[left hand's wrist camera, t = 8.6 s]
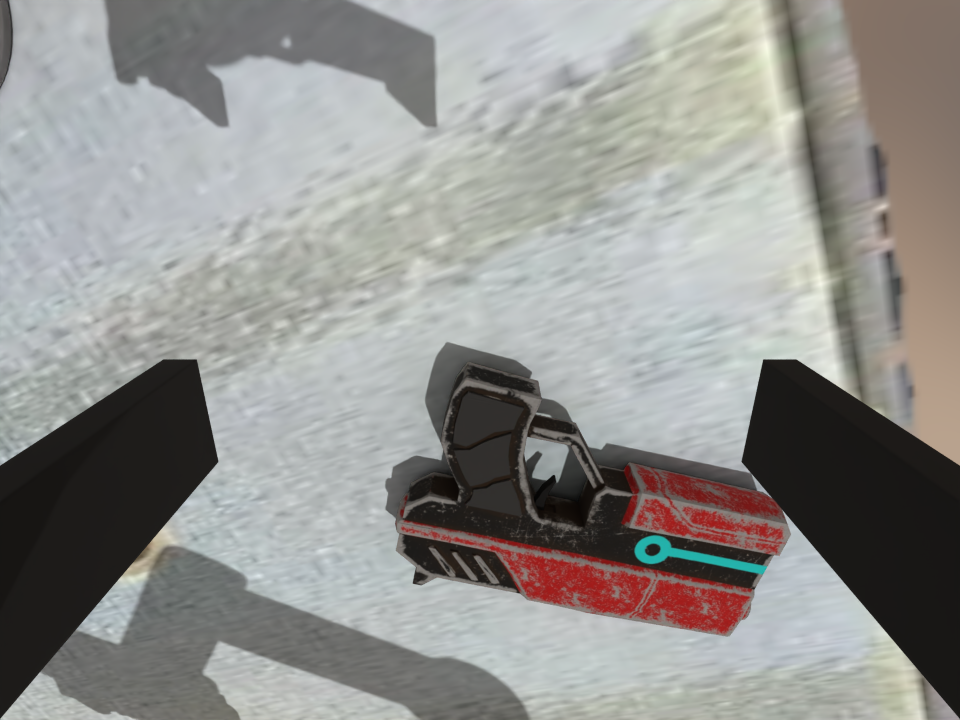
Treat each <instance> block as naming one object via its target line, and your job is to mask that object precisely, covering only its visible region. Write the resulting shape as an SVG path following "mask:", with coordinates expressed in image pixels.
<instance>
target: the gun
mask: <svg viewBox="0 0 960 720" xmlns="http://www.w3.org/2000/svg"><path fill="white" fill-rule="evenodd" d="M541 401H542V399H541V393H540V388H539V383H538V381H537V380H533V379H529V378H525V377H522V376H518V375H514V374H510V373H507V372H503V371H499V370H496V369H492V368H488V367H485V366H481V365H478V364H474V363H471V362H467V364H466V365H465V366H464V368H463V369H462V370H461V371H460V373H459V374H458V375H457V377H456V380H455V382H454V385H453V389H452V392H451V395H450V399H449V402H448V406H447V410H446V414H445V419H444V424H443V430H442V435H441V444H442V447H443V450H444V453H445V456H446V459H447V462H448V464H449V467H450V469H451V471H452V474H453V476H451V475H446V474H441V473H436V472H433V473H431V474H428V475H426V476H424V477H422V478H420V479H418V480H416V481H413V482H411V485H410V489H409V493H406V494H405V495H404V496H403V498H402V499H401V502H400V505H399V509H398V513H397V517H396V522H395V525H396V530H397V532H398V533H400V534H399V538H398V543H397V548H396V551H397V552H398V553H399V554H401V555H402V556H403V557H404V558H406V559H407V560H408V561H409V562H410V563H412V564H413V565H414V566H415V567H416V570H415V574H414V579H413V584H417V585H423V584H425V583H427V582H429V581H431V580H433V579H435V578H437V577H438V578H443V579H448V580H453V581H458V582H463V583H468V584H474V585H479V586H484V587H489V588H494V589H499V590H505V591H510V592H515V593H520V594H522V595H523V596H524V597H525V598H526V599H527V600H531V601H536V602H541V603H546V604H551V605H556V606H560V607H565V608H569V609H574V610H578V611H582V612H586V613H592V614H598V615H604V616H609V617H615V618H621V619H627V620H633V621H639V622H645V623H651V624H657V625H662V626H668V627H674V628H680V629H686V630H692V631H698V632H704V633H710V634H715V635H721V636H730V635H731V633H732V632H733V631H734V629H735V628H736V627H737V625H738V624H739V622H740V621H741V620H745V619H746V618H747V617H748V615H749V613H750V609H751V601H752V600H753V598H754V589H755V587H756V586H757V584H758V582H759V580H760V579H761V577H762V575H763V573H764V572H765V570H766V568H767V566H768V565H769V563H770V561H771V559H772V558H773V556H774V555H777V556H780V554H781V552H782V550H783V548H784V546H785V544H786V543H787V541H788V539H789V537H790V535H791V533H790V530H789V527H788V524H787V522H786V519H785V516H784V514H783V511H782V509H781V508H780V506H779V505H778V504H777V503H776V502H775V501H774V499H772V498H771V497H769V496H768V495H766V494H765V493H763V492H760V491H755V490H751V489H746V488H742V487H737V486H733V485H728V484H724V483H719V482H715V481H710V480H706V479H701V478H697V477H692V476H688V475H683V474H679V473H674V472H670V471H665V470H661V469H656V468H652V467H647V466H643V465H639V464H635V463H630V462H629V463H628V464H627V466H626V467H625V468H624V470H620V469H615V468H610V467H606V466H601V465H597V463H596V461H595V459H594V457H593V455H592V453H591V451H590V449H589V447H588V446H587V444H586V442H585V440H584V438H583V436H582V434H581V432H580V430H579V428H578V427H577V425H576V423H574V422H569V421H564V420H559V419H555V418H550V417H545V416H541V415H536V412H537V410H538V408H539V405H540V403H541ZM527 437H532V438H536V439H541V440H546V441H551V442H556V443H561V444H566V445H571V447H572V449H573V451H574V453H575V455H576V456H577V458H578V460H579V462H580V464H581V466H582V468H583V469H584V471H585V473H586V475H587V479H586V482H585V484H584V487H583V490H582V493H581V495H580V498H579V501H578V502H577V501H572V500H567V499H562V498H557V497H553V496H548V493H549V491H550V490H551V488H552V487H553V486H554V484H555V483H556V478H555V475H553V476H552V477H550V478H549V479H548V480H547V481H546V482H545V483H544V484H542V486H541V487H540V489H539V490H538V491H537V493H536V492H535V490H534V488H533V486H532V485H531V483H530V481H529V476H528V471H527V467H526V462H525V457H524V450H525V444H526V439H527Z"/></svg>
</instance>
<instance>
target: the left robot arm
mask: <svg viewBox="0 0 960 720" xmlns="http://www.w3.org/2000/svg"><path fill="white" fill-rule="evenodd" d="M10 51H11V21H10V14H9V8H8V2H7V0H0V86H1V84H2V82H3V80H4V77H5V74H6V72H7V68H8V63H9V59H10ZM217 463H218V457H217V453H216V448H215V443H214V439H213V434H212V429H211V425H210V420H209V415H208V410H207V406H206V401H205V396H204V392H203V387H202V382H201V377H200V373H199V368H198V363H197V360H162V361H161V362H159V363H158V364H156V365H154V366H153V367H151V368H150V369H148V370H147V371H145V372H144V373H142V374H141V375H139V376H138V377H136V378H134V379H133V380H131V381H130V382H128V383H127V384H125V385H124V386H122V387H121V388H119V389H117V390H116V391H114V392H113V393H111V394H110V395H108V396H107V397H105V398H104V399H102V400H101V401H99V402H97V403H96V404H94V405H93V406H91V407H90V408H88V409H87V410H85V411H84V412H82V413H81V414H79V415H77V416H76V417H74V418H73V419H71V420H70V421H68V422H67V423H65V424H64V425H62V426H61V427H59V428H57V429H56V430H54V431H53V432H51V433H50V434H48V435H47V436H45V437H44V438H42V439H41V440H39V441H37V442H36V443H34V444H33V445H31V446H30V447H28V448H27V449H25V450H24V451H22V452H21V453H19V454H17V455H16V456H14V457H13V458H11V459H10V460H8V461H7V462H5V463H4V464H2V465H1V466H0V718H1V717H2V716H3V715H4V714H5V712H6V711H7V710H8V709H9V708H10V707H11V705H12V704H13V703H14V702H15V701H16V700H17V698H18V697H19V696H20V695H21V694H22V692H23V691H24V690H25V689H26V688H27V687H28V685H29V684H30V683H31V682H32V681H33V680H34V678H35V677H36V676H37V675H38V674H39V672H40V671H41V670H42V669H43V668H44V667H45V665H46V664H47V663H48V662H49V661H50V659H51V658H52V657H53V656H54V655H55V654H56V652H57V651H58V650H59V649H60V648H61V647H62V645H63V644H64V643H65V642H66V641H67V639H68V638H69V637H70V636H71V635H72V634H73V632H74V631H75V630H76V629H77V628H78V627H79V625H80V624H81V623H82V622H83V621H84V619H85V618H86V617H87V616H88V615H89V614H90V612H91V611H92V610H93V609H94V608H95V607H96V605H97V604H98V603H99V602H100V601H101V599H102V598H103V597H104V596H105V595H106V594H107V592H108V591H109V590H110V589H111V588H112V587H113V585H114V584H115V583H116V582H117V581H118V579H119V578H120V577H121V576H122V575H123V574H124V572H125V571H126V570H127V569H128V568H129V567H130V565H131V564H132V563H133V562H134V561H135V559H136V558H137V557H138V556H139V555H140V554H141V552H142V551H143V550H144V549H145V548H146V546H147V545H148V544H149V543H150V542H151V541H152V539H153V538H154V537H155V536H156V535H157V534H158V532H159V531H160V530H161V529H162V528H163V526H164V525H165V524H166V523H167V522H168V521H169V519H170V518H171V517H172V516H173V515H174V514H175V512H176V511H177V510H178V509H179V508H180V506H181V505H182V504H183V503H184V502H185V501H186V499H187V498H188V497H189V496H190V495H191V494H192V492H193V491H194V490H195V489H196V488H197V486H198V485H199V484H200V483H201V482H202V481H203V479H204V478H205V477H206V476H207V475H208V474H209V472H210V471H211V470H212V469H213V468H214V466H215V465H216V464H217ZM742 463H743V464H744V465H745V466H746V468H747V469H748V470H749V471H750V472H751V474H752V475H753V476H754V477H755V478H756V479H757V481H758V482H759V483H760V484H761V485H762V486H763V488H764V489H765V490H766V491H767V492H768V494H769V495H770V496H771V497H772V498H773V499H774V501H775V502H776V503H777V504H778V505H779V506H780V508H781V509H782V510H783V511H784V512H785V514H786V515H787V516H788V517H789V518H790V519H791V521H792V522H793V523H794V524H795V525H796V526H797V528H798V529H799V530H800V531H801V532H802V534H803V535H804V536H805V537H806V538H807V539H808V541H809V542H810V543H811V544H812V545H813V547H814V548H815V549H816V550H817V551H818V552H819V554H820V555H821V556H822V557H823V558H824V559H825V561H826V562H827V563H828V564H829V565H830V567H831V568H832V569H833V570H834V571H835V572H836V574H837V575H838V576H839V577H840V578H841V579H842V581H843V582H844V583H845V584H846V585H847V587H848V588H849V589H850V590H851V591H852V592H853V594H854V595H855V596H856V597H857V598H858V599H859V601H860V602H861V603H862V604H863V605H864V607H865V608H866V609H867V610H868V611H869V612H870V614H871V615H872V616H873V617H874V618H875V619H876V621H877V622H878V623H879V624H880V625H881V627H882V628H883V629H884V630H885V631H886V632H887V634H888V635H889V636H890V637H891V638H892V639H893V641H894V642H895V643H896V644H897V645H898V647H899V648H900V649H901V650H902V651H903V652H904V654H905V655H906V656H907V657H908V658H909V659H910V661H911V662H912V663H913V664H914V665H915V667H916V668H917V669H918V670H919V671H920V672H921V674H922V675H923V676H924V677H925V678H926V680H927V681H928V682H929V683H930V684H931V685H932V687H933V688H934V689H935V690H936V691H937V692H938V694H939V695H940V696H941V697H942V698H943V700H944V701H945V702H946V703H947V704H948V705H949V707H950V708H951V709H952V710H953V711H954V712H955V714H956V715H957V716H958V717H959V718H960V466H959V465H958V464H956V463H955V462H953V461H952V460H950V459H949V458H947V457H946V456H944V455H943V454H941V453H939V452H938V451H936V450H935V449H933V448H932V447H930V446H929V445H927V444H926V443H924V442H923V441H921V440H919V439H918V438H916V437H915V436H913V435H912V434H910V433H909V432H907V431H906V430H904V429H903V428H901V427H899V426H898V425H896V424H895V423H893V422H892V421H890V420H889V419H887V418H886V417H884V416H883V415H881V414H879V413H878V412H876V411H875V410H873V409H872V408H870V407H869V406H867V405H866V404H864V403H863V402H861V401H859V400H858V399H856V398H855V397H853V396H852V395H850V394H849V393H847V392H846V391H844V390H842V389H841V388H839V387H838V386H836V385H835V384H833V383H832V382H830V381H829V380H827V379H826V378H824V377H822V376H821V375H819V374H818V373H816V372H815V371H813V370H812V369H810V368H809V367H807V366H806V365H804V364H802V363H801V362H799V361H798V360H763V363H762V368H761V373H760V377H759V382H758V387H757V392H756V396H755V401H754V406H753V410H752V415H751V420H750V425H749V429H748V434H747V439H746V443H745V448H744V453H743V457H742Z"/></svg>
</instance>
